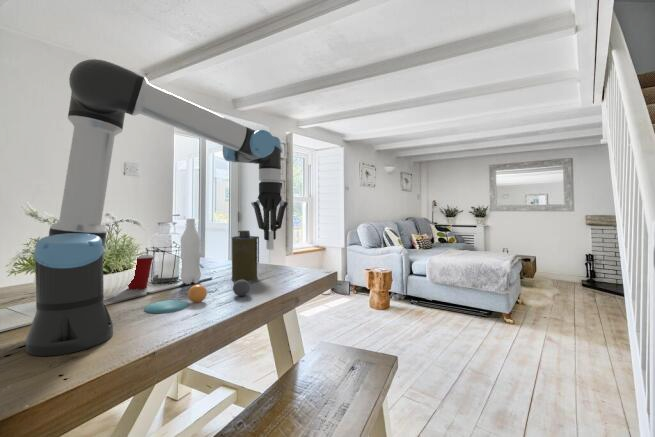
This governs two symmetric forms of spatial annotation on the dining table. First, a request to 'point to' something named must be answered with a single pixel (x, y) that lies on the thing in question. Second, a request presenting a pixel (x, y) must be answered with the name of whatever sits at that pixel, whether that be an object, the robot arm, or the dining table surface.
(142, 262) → the plastic cup
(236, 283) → the dark gray ball
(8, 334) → the dining table surface
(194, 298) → the orange ball
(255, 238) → the canister
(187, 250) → the water bottle
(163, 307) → the teal mark
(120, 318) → the dining table surface
